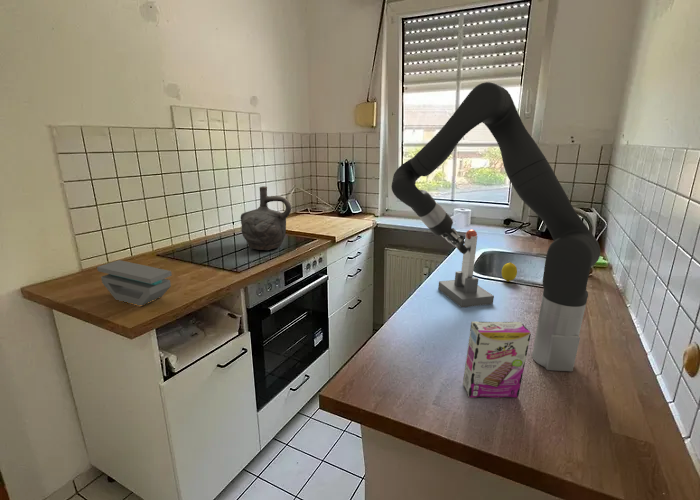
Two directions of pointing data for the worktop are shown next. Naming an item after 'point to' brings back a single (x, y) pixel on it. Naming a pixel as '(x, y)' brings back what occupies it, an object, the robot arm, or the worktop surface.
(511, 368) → the candy bar box
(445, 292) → the lever stand
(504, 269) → the lemon
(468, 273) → the lever
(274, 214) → the vessel
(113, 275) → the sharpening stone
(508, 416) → the worktop surface
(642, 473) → the worktop surface
